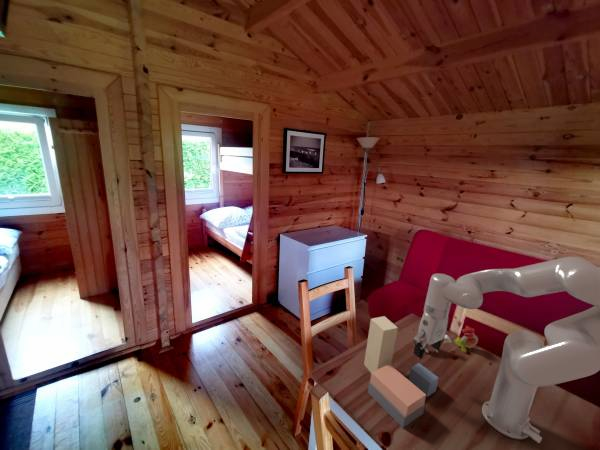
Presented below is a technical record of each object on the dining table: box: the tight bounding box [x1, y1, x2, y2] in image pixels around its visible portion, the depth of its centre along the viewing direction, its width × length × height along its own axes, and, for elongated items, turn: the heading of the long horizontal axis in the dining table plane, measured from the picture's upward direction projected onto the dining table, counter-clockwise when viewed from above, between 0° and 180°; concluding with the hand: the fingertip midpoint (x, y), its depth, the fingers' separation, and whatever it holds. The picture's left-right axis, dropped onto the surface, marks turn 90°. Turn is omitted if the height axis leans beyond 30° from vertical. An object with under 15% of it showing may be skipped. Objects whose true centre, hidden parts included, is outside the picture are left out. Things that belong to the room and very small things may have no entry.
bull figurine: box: [420, 333, 453, 354], centre depth 119 cm, size 4×13×8 cm, turn 89°
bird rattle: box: [453, 325, 479, 353], centre depth 122 cm, size 6×11×9 cm
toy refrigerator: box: [363, 315, 399, 374], centre depth 104 cm, size 8×7×21 cm
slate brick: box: [407, 362, 439, 398], centre depth 100 cm, size 8×5×6 cm, turn 31°
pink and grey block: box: [367, 364, 427, 429], centre depth 92 cm, size 15×10×8 cm, turn 31°
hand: (426, 351), depth 97 cm, fingers open, 9 cm apart
